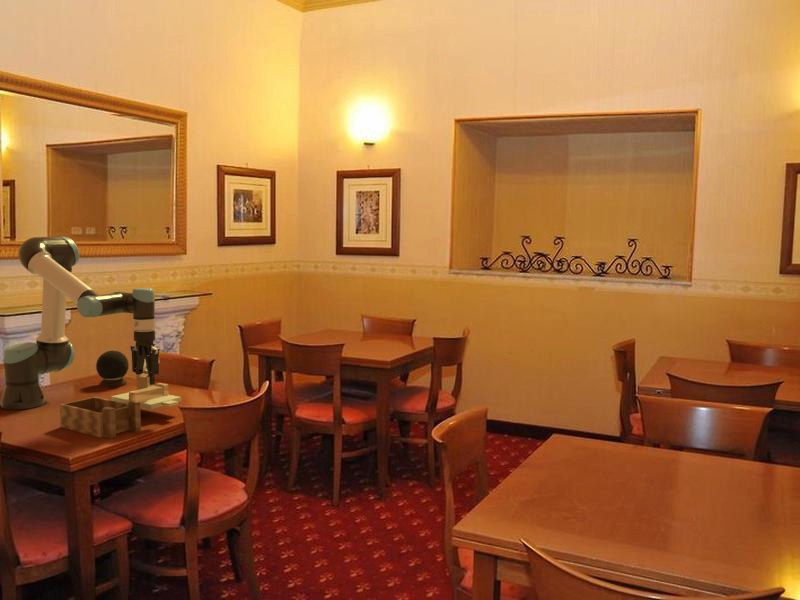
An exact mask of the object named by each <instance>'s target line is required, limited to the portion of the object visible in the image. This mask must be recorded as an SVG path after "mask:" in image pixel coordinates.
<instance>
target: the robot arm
mask: <svg viewBox="0 0 800 600" xmlns="http://www.w3.org/2000/svg"><path fill="white" fill-rule="evenodd" d="M18 259H19V261H20V264H21V265H22V266H23V268H25V270H27V272H29V273H30V274H32V275H38V276H39V277H41V279H42V299H41V301H42V302H41V321H40V322H41V324H40V325H41V326H40V330H41V331H40V334H39V335H38V336H37V337H36V341H35V342H32V341H29V342H28V341H27V342H22V343H16V344H15V343H14V344H11V345H10V346H8V347H6V348H5V349H4V352H3V366H4V367H3V368H4V390H3V392H2V395H1V398H0V407H1V408H2V409H3V410H17V411H18V410H26V409H33V408H38V407H41V406H43V405H45V402H46V401H45V399H46V398H45V395H44V393H43V390H42V388H41V386H40V375H45V374H48V373H49V374H50V373H56V372H61V371H62V370H63V371H64V370H66V369H68V368H69V367H70V366H71V365H72V364H73V362H74V359H75V349H74V348H73V343H71V342H70V341H69V340H70V339H69V338H68V337H67V335H66V334H65V332H66V315H67V314H66V312H67V298H68V299H69V300H71V302H73V303H74V304H76V308H77V311H78V313H79V315H80V316H81V317H83V318H96V317H102V316H108V315H117V314H123V313H124V314H132V317H133V330H134V331H133V340H134V342H135V344H134V345H130V348H129V349H130V351H131V368H132V369H131V370H132V373H135V375H136V377H137V376H138V375H143V374H145V371H144V370H143V368H144V360H146V365H147V371H148V372H147V374H148V375H147V388H149V387H153V386H154V384H155V385H156V382H155V381H156V376H158V375H160V357H159V356H160V355H159V354H160V351H161V350H160V348H159V347H157V348H155V347H154V344H155V343H154V341H155V340H156V331H155V329H156V318H155V317H156V315H155V313H156V312H155V301H156V299H155V292H154V289H153V288H151V287H135V288H133V289H132V292H124V291H113V292H110V293H105V294H99V293H98V292H97V291H95V290H93V289H92V288H91V287H90V286H88V284H86V283H84V282H83V281H82V280H80V279H79V278H78V277H76V275H74V274H73V273H72V271H73V267H74V266H75V265H76V264H77V263H78V262H79V260H80V250H79V248H78V245H77V244H76V242H75V241H74V240H73V239H72V238H70V237H67V236H35V237H30V238H28V239H26V240H25V241H24V242H23V243H22V244H21V245H20V246H19V250H18ZM148 355H150V356H148Z"/></svg>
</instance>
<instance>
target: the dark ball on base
mask: <svg viewBox="0 0 800 600" xmlns="http://www.w3.org/2000/svg"><path fill="white" fill-rule="evenodd" d="M129 366H130V365H129V360H128V357H127V356H126V355H125V354H124V353H123V352H121V351H119V350H108V351H107V350H106V351H105V352H103V353H102V354H101V355H100V356H99V357H98V358H97V360H96V365H95V369H96V372H97V374H98V376H99V377H100V378H101V379H102V380H101V381H100V382H98V387H100V388H104V387H105V388H106V389H110V388H112V387H115V388H120V386H122V387H124V385H125V386H127V385H126V384H127V383H128V382H127V381H126V379H124V377H125V376H126V374H127V373H128V371H129Z"/></svg>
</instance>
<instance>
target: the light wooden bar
mask: <svg viewBox="0 0 800 600" xmlns="http://www.w3.org/2000/svg"><path fill="white" fill-rule="evenodd" d="M168 395H169V384H168V383H163V382H158V383H156V385H155V386H153V387H149V388H144V389H140V390H137V389H136V390H132V391H129V402H133V403H138V402H142V401H147V400H151V399H155V398H159V397H163V396H168Z"/></svg>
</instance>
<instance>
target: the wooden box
mask: <svg viewBox="0 0 800 600" xmlns="http://www.w3.org/2000/svg"><path fill="white" fill-rule="evenodd" d="M59 416H60V417H59V418H60V420H59V421H60V428H63V429H67V430H71V431H74V432H77V433H82V434H87V435H89V436H93V437H98V438H107V439H110V440H111V439H116V438H117V434H120V433H123V432H126V431H131V432H135V433H136V432H139V431H142V426H141V425H142V424H141V423H142V421H141V418H142V417H141V416H142V415H141V407H140V402H138V403H133V402H128V404H127V403H122V402H118V401H113V400H111V399H108V398H103V397H98V396H93V397H88V398H83V399H79V400H74V401H69V402H66V403H60V404H59Z"/></svg>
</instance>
